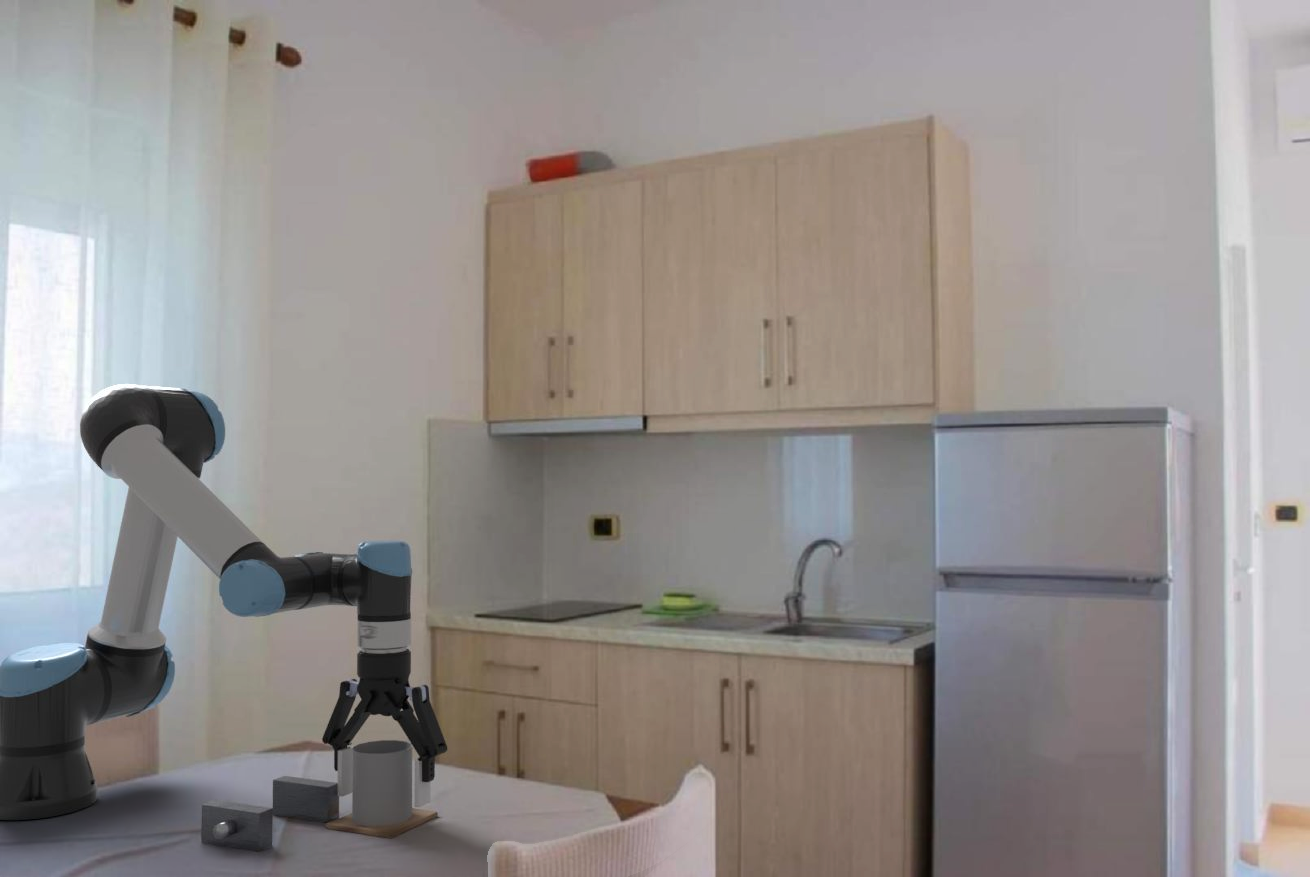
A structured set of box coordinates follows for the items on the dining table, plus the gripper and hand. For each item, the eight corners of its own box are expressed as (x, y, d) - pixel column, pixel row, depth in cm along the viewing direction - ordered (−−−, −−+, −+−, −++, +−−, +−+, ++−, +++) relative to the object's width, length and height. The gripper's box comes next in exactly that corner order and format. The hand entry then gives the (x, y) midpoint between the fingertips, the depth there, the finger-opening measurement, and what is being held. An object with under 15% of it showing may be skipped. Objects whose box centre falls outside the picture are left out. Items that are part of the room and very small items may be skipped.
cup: (396, 828, 156) (396, 755, 156) (341, 825, 157) (341, 752, 158) (421, 810, 164) (421, 741, 164) (368, 807, 166) (369, 739, 166)
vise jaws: (189, 846, 150) (190, 808, 150) (294, 806, 168) (294, 772, 169) (247, 856, 146) (247, 817, 146) (347, 814, 164) (348, 779, 165)
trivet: (326, 828, 158) (326, 824, 158) (375, 807, 168) (375, 803, 168) (390, 838, 153) (390, 833, 153) (437, 815, 164) (437, 811, 164)
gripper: (298, 647, 163) (296, 796, 162) (441, 658, 153) (441, 816, 152) (332, 640, 170) (331, 783, 169) (472, 650, 160) (471, 802, 159)
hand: (383, 799), depth 161 cm, fingers open, 13 cm apart
